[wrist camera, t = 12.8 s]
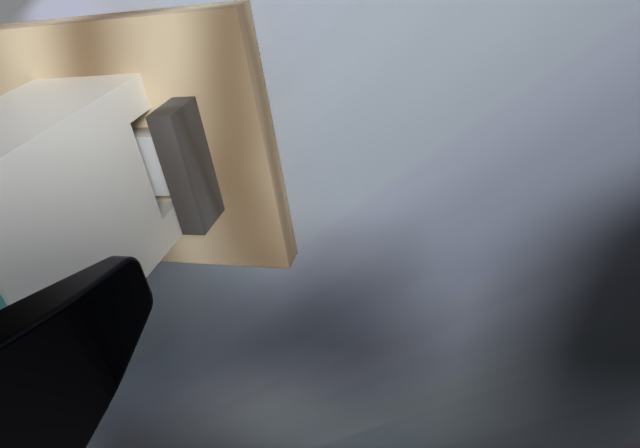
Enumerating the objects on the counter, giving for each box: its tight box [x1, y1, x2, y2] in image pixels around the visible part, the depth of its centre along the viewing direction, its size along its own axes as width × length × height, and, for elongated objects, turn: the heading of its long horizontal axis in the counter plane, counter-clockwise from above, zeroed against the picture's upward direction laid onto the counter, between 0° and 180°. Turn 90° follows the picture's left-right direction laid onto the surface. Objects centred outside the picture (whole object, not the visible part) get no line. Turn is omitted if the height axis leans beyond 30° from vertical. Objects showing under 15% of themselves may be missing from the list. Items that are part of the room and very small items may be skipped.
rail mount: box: [0, 0, 297, 269], centre depth 23 cm, size 14×11×3 cm
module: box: [0, 73, 183, 309], centre depth 20 cm, size 5×7×9 cm
